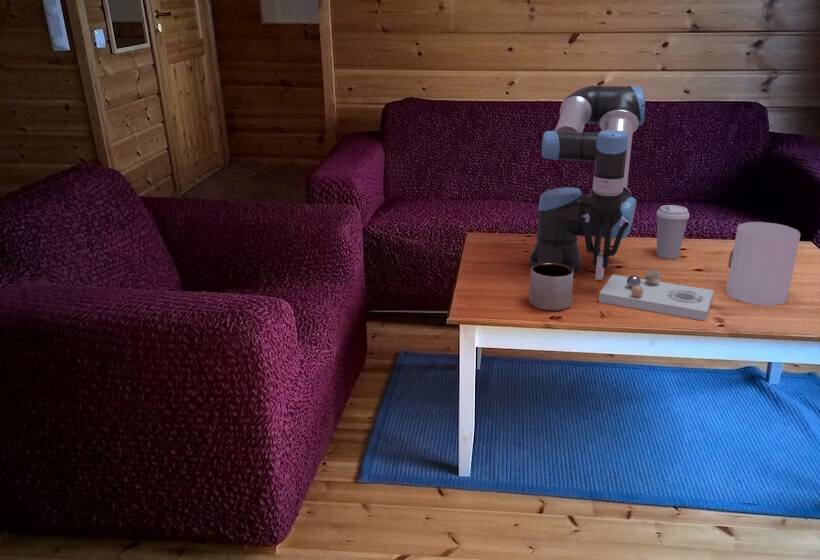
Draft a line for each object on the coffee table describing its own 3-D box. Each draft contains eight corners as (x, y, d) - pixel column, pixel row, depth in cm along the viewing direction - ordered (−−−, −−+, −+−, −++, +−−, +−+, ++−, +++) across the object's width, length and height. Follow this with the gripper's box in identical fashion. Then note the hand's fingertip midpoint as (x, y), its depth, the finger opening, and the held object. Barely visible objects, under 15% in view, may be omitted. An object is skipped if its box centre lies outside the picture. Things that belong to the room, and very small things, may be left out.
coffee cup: (656, 248, 214) (662, 202, 209) (687, 253, 209) (694, 207, 203) (647, 256, 207) (652, 209, 201) (678, 262, 202) (685, 214, 196)
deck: (598, 301, 175) (599, 293, 174) (611, 282, 188) (612, 274, 187) (705, 320, 164) (707, 311, 163) (712, 299, 176) (713, 290, 175)
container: (730, 281, 187) (741, 219, 181) (788, 290, 181) (801, 226, 174) (723, 299, 176) (734, 233, 169) (785, 309, 169) (799, 242, 162)
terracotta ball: (629, 297, 171) (630, 286, 170) (631, 293, 174) (633, 282, 173) (641, 299, 170) (642, 288, 169) (643, 295, 172) (645, 284, 171)
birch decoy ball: (643, 285, 179) (644, 271, 178) (646, 280, 182) (647, 266, 181) (658, 287, 177) (660, 273, 176) (661, 282, 180) (663, 268, 179)
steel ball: (624, 289, 177) (626, 276, 175) (627, 284, 180) (628, 272, 178) (638, 291, 175) (639, 278, 174) (641, 286, 178) (642, 274, 177)
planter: (562, 315, 168) (565, 279, 164) (522, 306, 173) (524, 272, 170) (577, 300, 177) (579, 266, 173) (538, 292, 182) (540, 259, 178)
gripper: (578, 193, 172) (571, 278, 181) (630, 198, 166) (620, 286, 175) (585, 186, 178) (579, 269, 187) (636, 191, 172) (626, 277, 181)
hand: (599, 277), depth 181 cm, fingers closed
